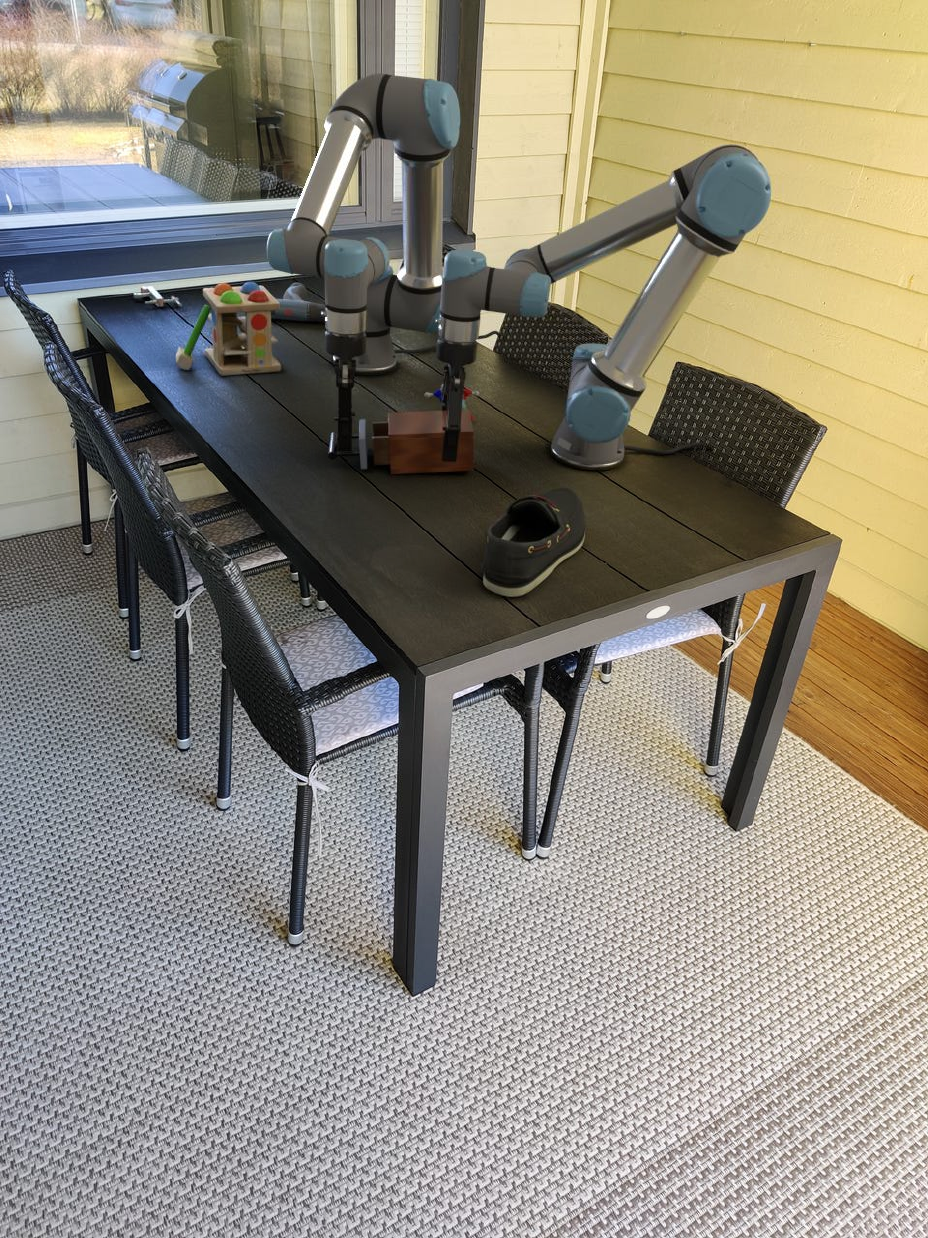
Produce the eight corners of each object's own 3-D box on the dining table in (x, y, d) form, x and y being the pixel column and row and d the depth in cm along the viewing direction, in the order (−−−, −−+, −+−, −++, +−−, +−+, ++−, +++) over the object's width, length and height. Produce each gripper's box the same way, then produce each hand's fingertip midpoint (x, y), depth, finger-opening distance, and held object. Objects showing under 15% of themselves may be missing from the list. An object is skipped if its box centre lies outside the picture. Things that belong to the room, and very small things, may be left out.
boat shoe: (609, 530, 179) (617, 478, 174) (520, 603, 155) (525, 545, 150) (547, 511, 185) (553, 460, 179) (452, 578, 161) (455, 522, 155)
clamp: (129, 286, 265) (166, 284, 270) (130, 295, 267) (167, 292, 271) (144, 303, 255) (182, 300, 259) (145, 312, 256) (183, 309, 261)
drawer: (329, 470, 190) (326, 440, 186) (331, 449, 197) (328, 420, 194) (437, 466, 191) (436, 436, 187) (435, 445, 199) (434, 416, 195)
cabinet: (390, 473, 190) (388, 434, 186) (390, 450, 199) (388, 412, 194) (473, 470, 191) (473, 431, 187) (469, 447, 200) (469, 409, 195)
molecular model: (472, 422, 205) (456, 376, 203) (432, 437, 208) (416, 391, 207) (488, 419, 215) (474, 375, 214) (450, 433, 219) (435, 390, 218)
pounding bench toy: (183, 379, 220) (176, 299, 210) (169, 357, 231) (162, 280, 221) (282, 371, 230) (280, 294, 220) (264, 350, 240) (262, 276, 230)
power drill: (344, 304, 276) (335, 327, 259) (277, 298, 275) (264, 321, 258) (344, 285, 273) (335, 306, 256) (277, 279, 272) (264, 300, 255)
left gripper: (325, 318, 184) (326, 435, 197) (323, 341, 173) (324, 463, 187) (366, 320, 185) (363, 436, 198) (366, 343, 174) (364, 464, 188)
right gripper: (434, 317, 191) (426, 423, 203) (440, 359, 172) (431, 473, 184) (472, 320, 191) (462, 425, 204) (483, 361, 173) (470, 475, 185)
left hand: (344, 449), depth 192 cm, fingers closed
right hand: (447, 448), depth 194 cm, fingers closed on cabinet, 11 cm apart
